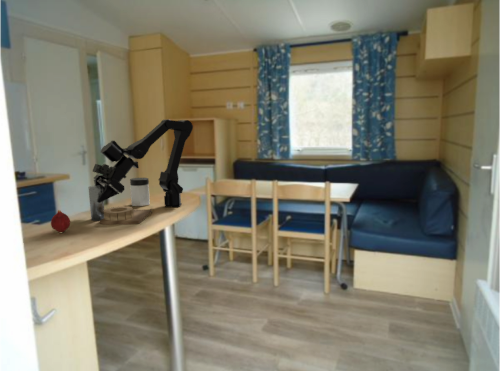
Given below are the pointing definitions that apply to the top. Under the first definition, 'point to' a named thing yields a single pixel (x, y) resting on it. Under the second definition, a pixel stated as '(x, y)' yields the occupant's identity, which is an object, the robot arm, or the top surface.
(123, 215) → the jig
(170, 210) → the top surface
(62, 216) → the pomegranate
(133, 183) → the jar
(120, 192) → the robot arm
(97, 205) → the chrome metal cylinder
